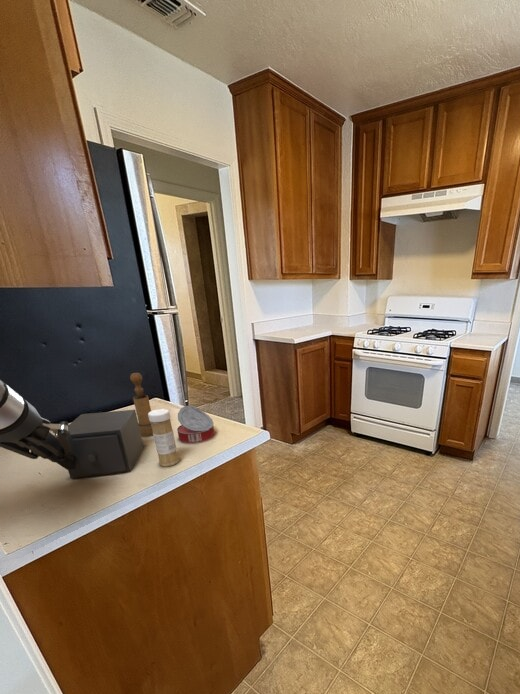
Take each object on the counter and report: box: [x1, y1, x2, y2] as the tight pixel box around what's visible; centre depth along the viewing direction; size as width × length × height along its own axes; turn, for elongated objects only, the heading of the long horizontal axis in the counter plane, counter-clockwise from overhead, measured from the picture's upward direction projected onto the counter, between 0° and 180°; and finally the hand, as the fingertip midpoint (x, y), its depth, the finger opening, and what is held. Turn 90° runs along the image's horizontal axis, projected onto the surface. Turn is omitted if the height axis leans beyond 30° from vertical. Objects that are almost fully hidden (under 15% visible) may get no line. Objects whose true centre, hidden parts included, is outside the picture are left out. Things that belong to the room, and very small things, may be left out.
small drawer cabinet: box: [57, 409, 145, 479], centre depth 86 cm, size 15×13×11 cm
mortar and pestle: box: [129, 372, 153, 438], centre depth 102 cm, size 7×6×18 cm
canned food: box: [176, 405, 216, 444], centre depth 101 cm, size 11×10×10 cm
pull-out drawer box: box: [67, 433, 127, 477], centre depth 84 cm, size 15×11×9 cm
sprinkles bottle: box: [148, 408, 180, 467], centre depth 84 cm, size 5×5×14 cm
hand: (72, 463), depth 77 cm, fingers closed
